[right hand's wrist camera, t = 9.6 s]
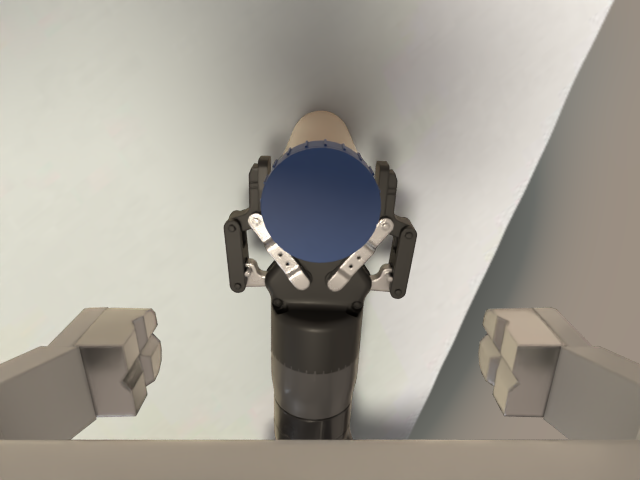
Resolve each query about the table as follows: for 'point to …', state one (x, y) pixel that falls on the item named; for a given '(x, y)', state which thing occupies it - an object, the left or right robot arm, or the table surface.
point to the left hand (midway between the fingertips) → (323, 160)
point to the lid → (320, 201)
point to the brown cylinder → (320, 130)
